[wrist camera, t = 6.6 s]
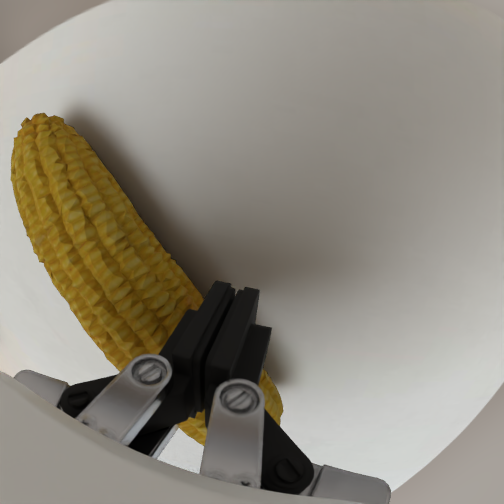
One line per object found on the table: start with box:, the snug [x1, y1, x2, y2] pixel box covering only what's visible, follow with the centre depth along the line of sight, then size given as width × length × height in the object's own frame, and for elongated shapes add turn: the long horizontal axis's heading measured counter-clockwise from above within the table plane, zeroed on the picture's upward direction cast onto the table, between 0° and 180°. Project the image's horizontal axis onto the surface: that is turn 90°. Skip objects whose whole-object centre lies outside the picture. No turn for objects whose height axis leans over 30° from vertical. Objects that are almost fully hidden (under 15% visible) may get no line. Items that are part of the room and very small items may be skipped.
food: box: [11, 113, 283, 446], centre depth 12 cm, size 21×6×6 cm, turn 36°
